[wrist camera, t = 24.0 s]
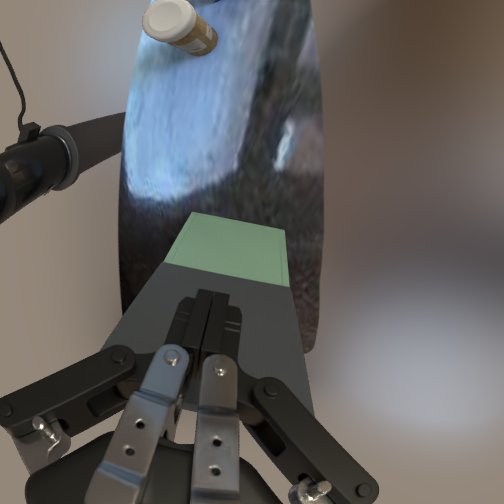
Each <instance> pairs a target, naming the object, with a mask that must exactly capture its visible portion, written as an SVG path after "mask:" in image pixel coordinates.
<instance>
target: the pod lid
mask: <svg viewBox="0 0 504 504" xmlns="http://www.w3.org/2000/svg"><path fill="white" fill-rule="evenodd" d="M199 288H201V289H206V290H211V291H214V294H215V291H216V292H221V293H226V294H230V298H229V303H228V305H231V306H236V307H239V308H240V310H241V313H242V315H243V317H242V325H241V334H240V342H239V351H238V363H239V366H240V367H241V369H242V370H243V371H244V372H245V373H247V374H249V375H250V376H253V377H255V378H257V379H261V378H264V377H274V378H277V379H279V380H281V381H282V382H283V383H284V384H285V385H286V386H287V387H288V388H289V389H290V390H291V392H292V393H293V394H294V395H295V396H296V397H297V398H298V400H299V401H300V402H301V403H302V404H303V405H304V406H305V407H306V409H307V410H308V411H309V412H310V413H311V414H312V415H313V416H314V410H313V404H312V398H311V393H310V387H309V381H308V375H307V370H306V364H305V358H304V353H303V348H302V342H301V337H300V332H299V327H298V322H297V316H296V311H295V306H294V301H293V296H292V292H291V287H287V286H282V285H276V284H271V283H265V282H260V281H255V280H250V279H245V278H239V277H234V276H229V275H224V274H219V273H214V272H209V271H204V270H199V269H195V268H190V267H185V266H180V265H176V264H171V263H166V262H161V264H160V265H159V266H158V268H157V269H156V270H155V272H154V273H153V275H152V276H151V277H150V279H149V280H148V281H147V283H146V284H145V286H144V287H143V288H142V290H141V291H140V292H139V294H138V295H137V297H136V298H135V300H134V301H133V302H132V304H131V305H130V307H129V308H128V310H127V311H126V312H125V314H124V315H123V317H122V318H121V320H120V321H119V323H118V324H117V326H116V327H115V329H114V330H113V332H112V333H111V335H110V336H109V338H108V339H107V341H106V342H105V344H104V345H103V347H102V348H101V350H100V351H102V350H104V349H106V348H108V347H110V346H113V345H118V344H119V345H125V346H127V347H129V348H131V349H132V350H133V352H134V354H146V353H152V352H155V351H157V350H158V349H159V348H160V347H161V346H163V344H164V342H165V340H166V337H167V334H168V331H169V328H170V326H171V323H172V320H173V317H174V315H175V313H176V309H177V307H178V304H179V302H180V301H181V300H183V299H184V298H185V297H186V296H187V297H191V298H196V295H197V292H198V289H199ZM213 298H214V296H213ZM100 351H99V352H100ZM198 373H199V370H198ZM200 383H201V381H198V374H197V379H196V380H192V379H191V382H190V386H189V390H188V393H187V396H186V400H185V403H184V406H183V409H185V410H189V411H194V412H197V410H198V401H199V392H200ZM314 417H315V416H314Z"/></svg>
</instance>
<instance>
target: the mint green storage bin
mask: <svg viewBox="0 0 504 504" xmlns="http://www.w3.org/2000/svg"><path fill="white" fill-rule="evenodd" d="M164 262H166V263H171V264H176V265H180V266H185V267H190V268H195V269H199V270H204V271H209V272H214V273H219V274H224V275H229V276H234V277H239V278H245V279H250V280H255V281H260V282H265V283H271V284H276V285H282V286H287V287H289V276H288V264H287V252H286V241H285V230H281V229H276V228H271V227H266V226H262V225H257V224H252V223H247V222H242V221H237V220H232V219H227V218H222V217H216V216H211V215H206V214H201V213H195V212H192V213H191V215H190V216H189V218H188V220H187V221H186V223H185V225H184V227H183V228H182V230H181V232H180V233H179V235H178V237H177V239H176V240H175V242H174V244H173V246H172V247H171V249H170V251H169V253H168V255H167V256H166V258H165V260H164Z"/></svg>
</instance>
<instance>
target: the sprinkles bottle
mask: <svg viewBox="0 0 504 504" xmlns="http://www.w3.org/2000/svg"><path fill="white" fill-rule="evenodd" d="M142 27H143V29H144V31H145V33H146V34H147V35H148V36H149V37H151V38H153V39H155V40H158V41H160V42H167V43H168V44H170V45H172V46H175V47H177V48H180V49H182V50H184V51H187V52H188V53H190V54H192V55H197V56H200V55H205V54H207V53H209V52H211V51H212V50H213V49H214V48H215V47H216V45H217V40H218V36H217V33H216V31H215V30H214V29H213V28H212V27H210V26H209V24H208V23H206V22H205V21H204V20H203V19H202V18H201V17H200V16H199V15H198V14H197V13H196V12H195V9H194V8H193V6H192V5H191V4H190V3H189V2H187V1H186V0H157V1H155V2H153V3H152V4H151V5H150V6H149V7H148V8H147V10H146V11H145V13H144V15H143V19H142Z"/></svg>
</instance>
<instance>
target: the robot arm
mask: <svg viewBox="0 0 504 504" xmlns="http://www.w3.org/2000/svg"><path fill="white" fill-rule="evenodd" d="M0 52H1V54H2V56H3V59H4V61H5V63H6V65H7V67H8V69H9V71H10V74H11V76H12V79H13V81H14V84H15V86H16V88H17V90H18V92H19V95H20V98H21V104H22V110H21V113H20V114H19V117H18V127H19V131H20V135H19V138H18V142H17V143H16V144H13V145H11V146H9V147H7V148H6V149H5V152H3V153H1V154H0V224H1V223H3V222H4V221H5V220H7V219H8V218H9V217H10V216H12V215H13V214H15V213H16V212H18V211H19V210H20V209H22V208H23V207H25V206H26V205H28V204H29V203H31V202H32V201H34V200H35V199H37V198H38V197H39V196H41V195H43V194H44V193H45V194H47V193H48V192H49V191H50V190H51V189H52V188H54V187H55V186H57V185H60V184H61V183H63V182H64V181H65V180H66V179H67V178H68V177H69V175H70V172H71V169H72V153H71V150H70V147H69V145H68V143H67V142H66V140H65V139H64V138H63V137H62V136H60V135H58V134H55V133H51V134H47V135H44V134H40V135H39V132H40V129H41V126H39V125H38V124H36V123H35V122H31V123H28V124H25V125H22V117H23V115H24V113H25V110H26V102H25V97H24V93H23V90H22V88H21V86H20V84H19V82H18V80H17V77H16V75H15V72H14V69H13V67H12V65H11V63H10V61H9V59H8V57H7V55H6V53H5V50H4V49H3V46H2V44H1V42H0ZM45 194H44V195H45ZM213 296H214V298H213ZM229 298H230V294H226V293H221V292H216V291H215V294H214V291H211V290H206V289H201V288H199V289H198V292H197V295H196V298H191V297H187V296H186V297H185V298H184V299H183V300H181V301H180V302H179V304H178V307H177V309H176V313H175V315H174V317H173V320H172V323H171V326H170V328H169V331H168V334H167V337H166V340H165V342H164V344H163V346H161V347H160V348H159V349H158V350H157V351H155V352H152V353H146V354H134V352H133V350H132V349H131V348H129V347H127V346H125V345H119V344H118V345H113V346H110V347H108V348H106V349H104V350H102V351H100V352H98V353H96V354H94V355H92V356H90V357H87V358H85V359H83V360H81V361H79V362H77V363H75V364H73V365H71V366H69V367H67V368H64V369H62V370H60V371H58V372H56V373H54V374H52V375H50V376H47V377H45V378H43V379H41V380H39V381H37V382H34V383H32V384H30V385H28V386H26V387H24V388H22V389H19V390H17V391H15V392H13V393H10V394H8V395H6V396H4V397H2V398H0V425H1V426H2V427H3V428H4V429H5V430H6V431H7V432H8V433H9V434H10V435H11V436H12V438H13V441H14V443H15V445H16V448H17V450H18V452H19V454H20V456H21V458H22V460H23V462H24V464H25V466H26V468H27V470H28V472H29V474H30V477H29V478H28V480H27V482H26V486H25V498H26V503H27V504H283V503H282V502H281V501H280V500H279V499H278V497H277V496H276V495H275V493H274V492H273V491H272V490H271V489H270V487H269V486H268V485H267V483H266V482H265V481H264V480H263V478H262V477H261V475H260V474H259V473H258V472H257V470H256V469H255V468H254V467H253V466H252V465H251V464H250V463H249V462H247V461H246V460H244V459H243V458H241V457H239V420H240V421H242V423H243V425H244V426H245V428H246V429H247V430H248V432H249V433H250V434H251V435H252V437H253V438H254V439H255V441H256V442H257V443H258V444H259V446H260V447H261V448H262V449H263V451H264V452H265V453H266V454H267V456H268V457H269V458H270V459H271V460H272V462H273V463H274V464H275V465H276V466H277V468H278V469H279V470H280V471H281V472H282V474H283V475H284V476H285V477H286V478H287V479H288V480H289V482H290V483H291V484H292V485H293V486H292V487H291V489H290V490H289V494H288V498H289V501H290V503H291V504H372V503H373V502H374V501H375V500H376V499H377V497H378V494H379V486H378V483H377V482H376V480H375V479H374V478H372V476H370V475H369V473H368V472H367V471H365V469H364V468H363V467H361V466H360V464H359V463H357V461H356V460H354V459H353V458H352V456H351V455H349V453H348V452H347V451H346V450H345V449H344V448H343V447H342V446H341V445H340V444H339V443H338V442H337V441H336V440H335V439H334V438H333V437H332V436H331V435H330V434H329V432H327V430H326V429H325V428H324V427H323V426H322V425H321V424H320V423H319V422H318V421H317V420H316V418H315V417H314V416H313V415H312V414H311V413H310V412H309V411H308V410H307V409H306V407H305V406H304V405H303V404H302V403H301V402H300V401H299V400H298V398H297V397H296V396H295V395H294V394H293V393H292V392H291V390H290V389H289V388H288V387H287V386H286V385H285V384H284V383H283V382H282V381H281V380H279V379H277V378H274V377H264V378H261V379H257V378H255V377H253V376H250V375H249V374H247V373H245V372H244V371H243V370H242V369H241V367H240V366H239V363H238V351H239V342H240V334H241V325H242V317H243V315H242V313H241V310H240V308H239V307H236V306H231V305H228V303H229ZM198 370H199V373H198ZM197 374H198V381H201V383H200V392H199V401H198V410H197V420H196V431H195V442H194V444H177V443H174V438H175V432H176V427H177V424H178V421H179V418H180V415H181V412H182V409H183V406H184V403H185V400H186V396H187V393H188V390H189V386H190V382H191V379H192V380H196V379H197ZM123 409H124V411H123V413H122V416H121V418H120V420H119V423H118V425H117V427H116V429H115V431H111V432H107V433H105V434H103V435H101V436H99V437H97V438H96V439H94V440H92V441H91V442H89V443H87V444H85V445H84V446H82V447H80V448H78V449H77V450H75V451H73V452H71V453H70V454H68V455H66V456H64V457H62V458H61V456H62V455H63V454H65V453H66V452H67V451H68V450H69V448H70V445H71V439H70V438H71V437H73V436H75V435H77V434H79V433H81V432H83V431H85V430H87V429H89V428H90V427H92V426H94V425H96V424H98V423H100V422H102V421H103V420H105V419H107V418H109V417H111V416H113V415H114V414H116V413H118V412H120V411H121V410H123Z"/></svg>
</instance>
